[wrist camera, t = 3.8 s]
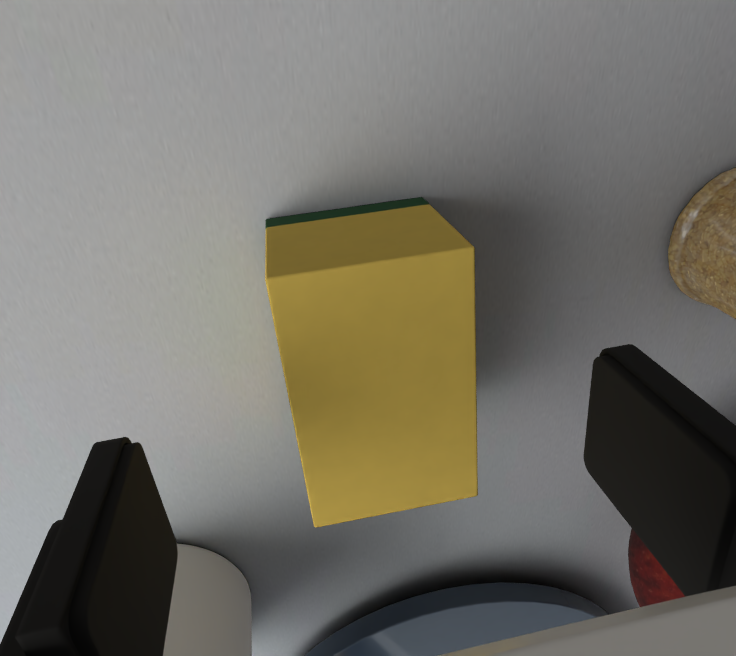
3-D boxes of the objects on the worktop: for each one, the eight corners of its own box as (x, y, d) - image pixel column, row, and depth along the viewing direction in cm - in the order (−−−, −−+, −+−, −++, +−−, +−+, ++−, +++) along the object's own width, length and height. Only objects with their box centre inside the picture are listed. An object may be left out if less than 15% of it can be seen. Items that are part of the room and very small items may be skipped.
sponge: (265, 218, 15) (265, 278, 11) (422, 196, 16) (475, 246, 12) (304, 425, 18) (314, 528, 15) (433, 402, 19) (478, 496, 15)
